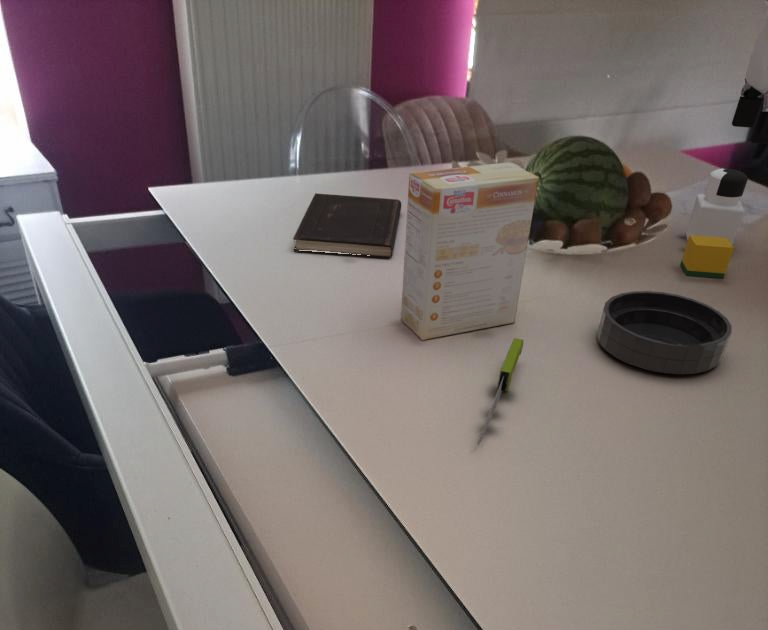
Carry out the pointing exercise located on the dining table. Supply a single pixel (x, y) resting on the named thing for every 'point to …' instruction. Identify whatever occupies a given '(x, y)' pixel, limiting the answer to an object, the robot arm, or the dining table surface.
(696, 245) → the sponge
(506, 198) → the coffeecake box
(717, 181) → the medicine bottle
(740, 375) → the dining table surface
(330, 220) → the hardcover book
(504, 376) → the kitchen knife
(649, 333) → the bowl
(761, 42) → the robot arm
